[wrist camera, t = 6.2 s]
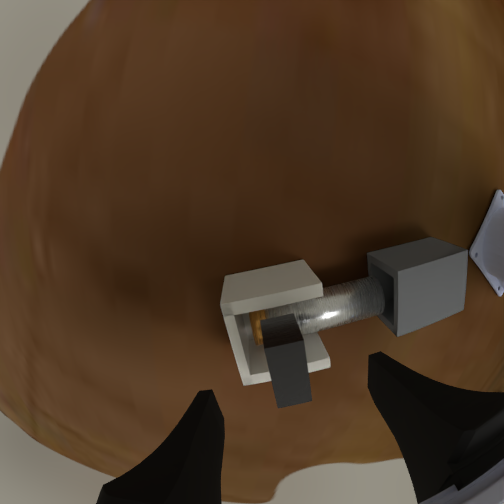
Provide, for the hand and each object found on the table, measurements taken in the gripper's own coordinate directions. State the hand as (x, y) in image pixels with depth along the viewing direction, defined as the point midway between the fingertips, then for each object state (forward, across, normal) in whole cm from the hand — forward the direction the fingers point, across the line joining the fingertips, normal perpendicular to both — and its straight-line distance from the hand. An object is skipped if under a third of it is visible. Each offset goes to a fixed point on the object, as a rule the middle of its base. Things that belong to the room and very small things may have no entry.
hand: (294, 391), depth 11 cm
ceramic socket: (+10, 0, 0) cm, 10 cm away
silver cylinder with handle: (+9, -3, 0) cm, 9 cm away
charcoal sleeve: (+10, -11, 0) cm, 15 cm away
